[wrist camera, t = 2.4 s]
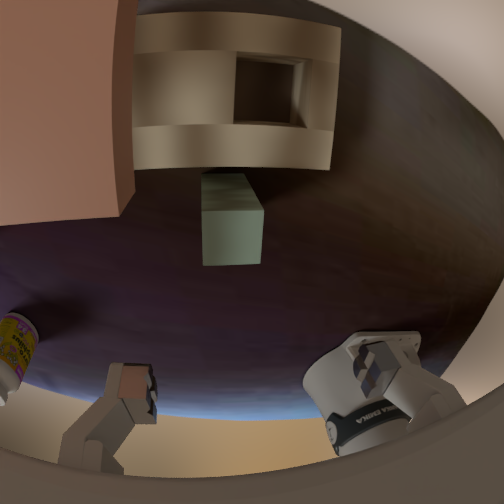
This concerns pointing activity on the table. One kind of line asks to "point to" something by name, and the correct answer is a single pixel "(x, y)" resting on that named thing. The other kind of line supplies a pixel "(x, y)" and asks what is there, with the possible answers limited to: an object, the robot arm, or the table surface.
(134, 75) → the socket block
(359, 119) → the table surface
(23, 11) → the small toy table
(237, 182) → the peg
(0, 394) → the supplement bottle
